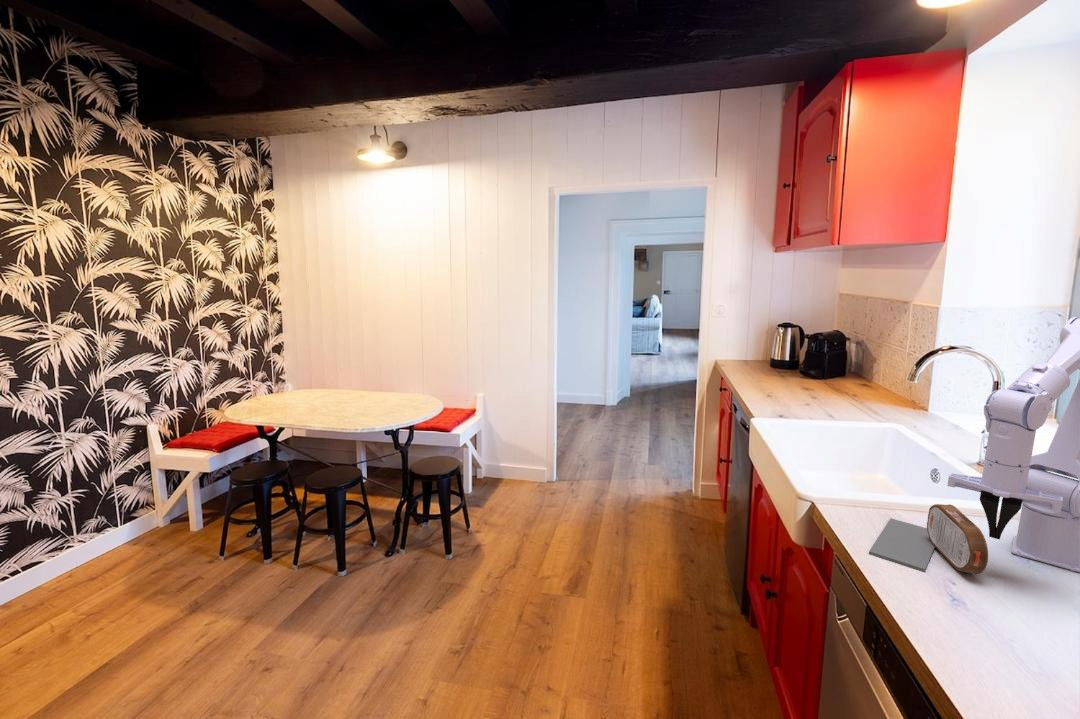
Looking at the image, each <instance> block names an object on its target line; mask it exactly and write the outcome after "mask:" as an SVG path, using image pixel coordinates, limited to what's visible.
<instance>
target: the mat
mask: <svg viewBox="0 0 1080 719" xmlns="http://www.w3.org/2000/svg"><path fill="white" fill-rule="evenodd" d="M935 548H936V547H935V546H934V545H933V543H932V542H931V540H930V538H929V535H928V531H927V527H923V526H920V525H917V524H912V523H910V522H905V521H904V520H899V519H895V518H892V517H891V518H889V520H888V521H887V523H886V524H885V526H884V527H883V530H881V532H880V534H879V535H878V537H877V538H876V539H875V541H874V543H873V544H872V546H871V548H870V549H869V551H868V555H871V556H875V557H878V558H880V559H883V560H884V559H885V560H886V561H887V560H888V561H890V562H893V563H897V564H899V565H902V566H905V567H908V568H912V569H915V570H917V571H920V572H923V573H924V572H926V570H927V567H928V565H929V563H930V561H931V558H932V556H933V553H934V552H935V551H934V550H935Z"/></svg>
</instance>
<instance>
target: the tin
mask: <svg viewBox="0 0 1080 719" xmlns="http://www.w3.org/2000/svg"><path fill="white" fill-rule="evenodd" d="M926 528H927V531H928V535H929V538H930V540H931V542H932V543H933V545H934V546H935V548H936V549H937V550H938V551H939V553H941V555H942V556H943V557H944V558H945V559H946V560H947V561H948V562H949V563H950V564H951V566H952V567H953V568H954V569H955V570H957V571H959V572H961V573H962V572H963V573H969V574H970V573H971V574H974V575H979V574H982V573H984V572H985V570H986V568H987V567H988V563H989V562H988V561H989V548H988V544H987V541H986V537H985V535H984V533H983V532H982V530H981V529H980V528H979V527H978V526H977V524H975V523H974V522H973V521H971V520H970V519H969V518H968V517H967V516H966V515H965V514H964V513H963V512H962V511H961V510H960V509H959V508H957V507H956V506H954V505H953V504H942V503H941V504H939V503H937V504H933V505H931V506H930V507H929V509H928V514H927V522H926Z"/></svg>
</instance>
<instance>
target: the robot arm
mask: <svg viewBox="0 0 1080 719" xmlns="http://www.w3.org/2000/svg"><path fill="white" fill-rule="evenodd" d="M1059 342H1060V343H1059V345H1058V347H1057V348H1056V349H1055V350H1054V351H1053V353H1051V355H1050V356H1049V357H1048V358H1047V360H1046V361H1045V362H1039V363H1034V364H1032V365H1031V366H1030V367H1028V368H1027V369H1026V370H1025V371H1024V372H1023V373H1022V374H1021V375H1020V376H1018V378H1017V379H1016V380H1014V382H1012V383H1011V384H1010V385H1009V386H1008V387H1007V388H1000V389H997V390H993V391H991V393H990V394H989V395H988V396H987V399H986V401H985V404H984V405H983V414H984V418H985V426H984V427H985V430H986V431H987V432H988V436H987V440H986V441H987V442H986V448H985V453H984V454H985V456H984V461H983V467H982V474H981V476H973V475H964V474H958V473H953V472H950V473H949V474H948V479H947V486H948V487H950V488H960V489H965V490H970V491H974V492H978V493H980V494H979V502H980V504H981V506H982V509H983V511H984V514H985V516H986V520H987V526H988V537H989V538H991V539H992V538H993V539H996V540H1001V537H1002V534H1003V531H1004V530H1005V528H1006V527H1007V525H1008V524H1009V522H1010V521H1011V520H1012V519H1013V518H1014V516H1016V515H1017V514H1018V513H1019V511H1020V515H1019V522H1018V527H1017V528H1018V529H1017V534H1016V536H1015V535H1014V536H1013V540H1012V547H1011V554H1014V555H1017V556H1019V557H1020V556H1021V557H1024V558H1028V559H1031V560H1034V561H1038V562H1042V563H1046V564H1049V565H1052V566H1056V567H1060V568H1063V569H1067V570H1071V571H1075V572H1078V573H1080V378H1079V379H1078V381H1077V384H1076V386H1075V389H1074V391H1073V393H1072V395H1071V398H1070V399H1069V402H1068V403H1067V406H1066V409H1065V411H1064V413H1063V416H1062V417H1061V420H1060V422H1059V424H1058V427H1057V428H1056V431H1055V434H1054V436H1053V438H1052V440H1051V442H1050V444H1049V447H1048V449H1047V451H1046V452H1043V453H1039V454H1035V455H1033V450H1034V444H1035V439H1036V438H1035V437H1036V433H1037V430H1038V429H1040V428H1041V427H1043V425H1044V424H1045V423H1046V421H1047V418H1048V416H1049V413H1050V412H1051V411H1052V408H1053V403H1054V402H1055V401H1056V400H1057V399H1059V397H1060V396H1061V395H1062V394H1063V393H1064V392H1066V390H1067V389H1068V388H1069V387H1070V386H1071V378H1070V375H1072V374H1073V373H1075V372H1076V371H1077V370H1079V371H1080V316H1073V317H1071V318H1069V319H1068V320H1067V321H1066V322H1065V323H1064V324H1063V326H1062V328H1061V330H1060V334H1059ZM1000 498H1001V506H1000V511H999V517H997V516H998V510H999V504H1000ZM997 521H998V522H997Z"/></svg>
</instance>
